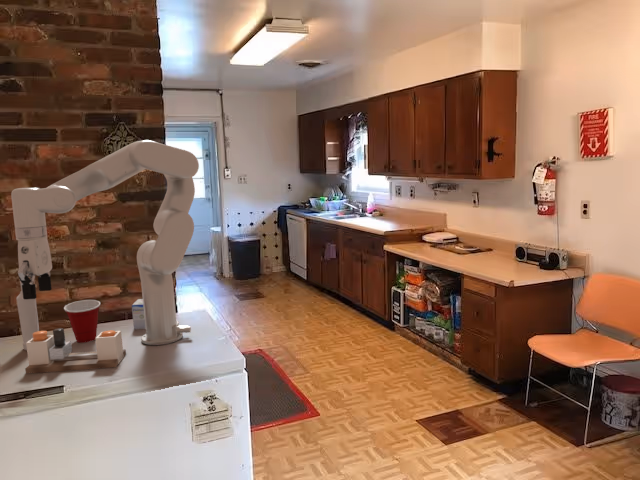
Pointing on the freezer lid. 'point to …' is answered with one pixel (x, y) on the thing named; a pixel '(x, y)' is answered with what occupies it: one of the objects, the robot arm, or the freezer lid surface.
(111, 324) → the freezer lid surface
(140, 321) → the medicine box
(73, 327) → the plastic cup
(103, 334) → the ball
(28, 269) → the robot arm
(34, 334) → the gauge button
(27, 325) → the bottle
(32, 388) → the freezer lid surface
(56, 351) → the carriage
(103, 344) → the pair of ball holders
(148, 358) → the freezer lid surface
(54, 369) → the rail board
